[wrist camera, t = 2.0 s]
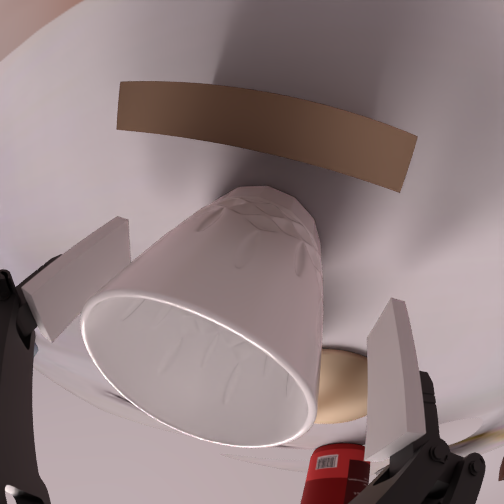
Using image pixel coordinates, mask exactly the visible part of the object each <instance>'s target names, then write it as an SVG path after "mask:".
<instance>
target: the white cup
mask: <svg viewBox="0 0 504 504" xmlns="http://www.w3.org/2000/svg"><path fill="white" fill-rule="evenodd" d="M80 331H81V336H82V339H83V342H84V345H85V347H86V349H87V352H88V354H89V355H90V357H91V359H92V361H93V362H94V364H95V365H96V367H97V368H98V369H99V371H100V372H101V373H102V375H103V376H104V377H105V378H106V379H107V381H108V382H109V383H110V384H111V385H112V386H113V387H114V388H115V389H116V390H117V391H118V392H119V393H120V394H121V395H123V396H124V397H125V398H126V399H127V400H129V401H130V402H131V403H132V404H134V405H135V406H136V407H138V408H139V409H140V410H142V411H143V412H145V413H146V414H148V415H149V416H151V417H153V418H154V419H156V420H158V421H160V422H161V423H163V424H165V425H167V426H169V427H171V428H173V429H175V430H178V431H180V432H182V433H185V434H187V435H190V436H193V437H196V438H199V439H202V440H205V441H209V442H213V443H217V444H222V445H227V446H235V447H244V448H262V447H272V446H278V445H282V444H286V443H289V442H291V441H294V440H296V439H298V438H300V437H301V436H303V435H304V434H305V433H306V432H308V431H309V429H310V428H311V427H312V426H313V424H314V422H315V420H316V417H317V410H318V398H319V386H320V371H321V354H322V335H323V271H322V262H321V243H320V239H319V235H318V231H317V228H316V224H315V220H314V218H313V217H312V216H311V215H310V214H309V213H308V212H307V210H306V209H305V208H304V207H303V206H302V205H301V204H300V203H299V201H298V200H297V199H296V198H295V197H293V196H290V195H288V194H286V193H283V192H281V191H279V190H276V189H274V188H272V187H269V186H245V187H237V188H236V189H234V190H232V191H230V192H229V193H227V194H225V195H223V196H222V197H220V198H218V199H217V200H215V201H214V202H213V203H211V204H210V205H207V206H205V207H203V208H201V209H200V210H199V211H197V212H196V213H194V214H193V215H192V216H190V217H189V218H187V219H186V220H184V221H183V222H182V223H180V224H179V225H178V226H177V227H175V228H174V229H172V230H171V231H169V232H168V233H166V234H165V235H164V236H163V237H161V238H160V239H159V240H158V241H156V242H155V243H154V244H153V245H152V246H150V247H149V248H148V249H147V250H145V251H144V252H143V253H142V254H141V255H139V256H138V257H137V258H136V259H135V260H133V261H132V262H131V263H130V264H129V265H127V266H126V267H125V268H124V269H123V270H122V271H120V272H119V273H118V274H117V275H116V276H115V277H113V278H112V279H111V280H110V281H109V282H108V283H106V284H105V285H104V286H103V287H102V288H101V289H100V290H98V291H97V292H96V293H95V294H94V295H93V296H92V297H90V298H89V299H88V300H87V302H86V303H85V304H84V306H83V308H82V311H81V315H80Z"/></svg>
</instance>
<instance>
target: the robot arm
mask: <svg viewBox="0 0 504 504" xmlns="http://www.w3.org/2000/svg"><path fill="white" fill-rule="evenodd" d="M130 263H131V254H130V240H129V221H128V219H125V218H122V217H118V216H117V217H115V218H114V219H112V220H111V221H109V222H108V223H106V224H105V225H103V226H102V227H100V228H99V229H97V230H96V231H94V232H93V233H92V234H90V235H89V236H87V237H86V238H84V239H83V240H82V241H80V242H79V243H77V244H76V245H75V246H73V247H72V248H71V249H69V250H68V251H67V252H65V253H64V254H61V255H58V256H56V257H54V258H52V259H50V260H49V261H48V262H46V263H45V264H44V266H43V265H42V266H41V267H40V268H39V269H38V270H36V271H35V272H34V273H32V274H31V275H30V276H29V277H27V278H26V279H25V280H24V281H23V282H21V283H20V284H19V285H18V286H16V287H15V285H14V282H13V279H12V276H11V274H10V272H9V271H8V270H3V269H2V270H0V504H7V501H6V497H5V491H6V492H8V493H10V494H12V495H13V497H14V498H15V500H16V503H17V504H51V502H50V498H49V494H48V491H47V488H46V486H45V484H44V483H43V481H42V480H41V478H40V476H39V473H38V467H37V461H36V452H35V443H34V432H33V416H32V415H33V414H32V376H33V358H34V346H35V331H34V329H35V328H36V327H37V326H38V328H39V331H40V333H41V335H42V336H43V337H45V338H46V339H47V340H49V341H50V342H52V343H53V342H54V340H55V339H56V338H57V337H58V336H59V335H60V334H61V333H62V332H63V331H64V330H65V329H66V328H67V327H68V326H69V324H70V323H71V322H72V321H73V320H74V319H75V318H76V317H77V316H78V315H79V314H80V313H81V311H82V308H83V306H84V304H85V303H86V302H87V300H88V299H89V298H90V297H92V296H93V295H94V294H95V293H96V292H97V291H98V290H100V289H101V288H102V287H103V286H104V285H105V284H106V283H108V282H109V281H110V280H111V279H112V278H113V277H115V276H116V275H117V274H118V273H119V272H120V271H122V270H123V269H124V268H125V267H126V266H127V265H129V264H130ZM367 363H368V397H367V426H366V442H365V454H364V461H372V462H382V461H384V460H386V459H387V458H389V457H390V464H389V465H388V466H386V467H384V468H382V469H380V470H378V471H377V472H376V473H375V474H376V475H377V474H379V473H380V474H379V475H378V476H377V477H376V478H375V479H374V480H373V481H372V482H371V483H370V484H369V485H368V486H367V487H366V488H365V489H364V490H363V491H362V492H360V493H359V494H358V495H357V496H356V497H355V498H354V499H353V500H352V501H351V502H349V503H348V504H475V503H476V500H477V497H478V494H479V491H480V488H481V485H482V481H483V477H484V474H485V461H484V459H483V457H482V456H481V455H480V454H479V453H471V454H469V455H468V456H466V457H461V456H458V455H456V454H453V453H451V452H450V449H449V446H448V445H447V443H445V441H444V440H442V439H440V436H439V426H438V416H437V408H436V405H435V403H436V400H435V396H434V387H433V382H432V380H431V378H430V376H429V375H428V373H427V372H423V371H419V367H418V361H417V355H416V350H415V345H414V340H413V335H412V330H411V325H410V321H409V316H408V312H407V308H406V304H405V301H401V300H398V299H394V298H391V299H390V300H389V302H388V304H387V306H386V307H385V309H384V311H383V313H382V314H381V316H380V318H379V319H378V321H377V323H376V324H375V326H374V327H373V329H372V331H371V332H370V334H369V335H368V337H367Z"/></svg>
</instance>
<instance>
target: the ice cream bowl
mask: <svg viewBox="0 0 504 504" xmlns="http://www.w3.org/2000/svg"><path fill="white" fill-rule="evenodd" d="M501 480H504V457H503V461H502V464H501V467H500V472H499V481H501Z"/></svg>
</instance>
